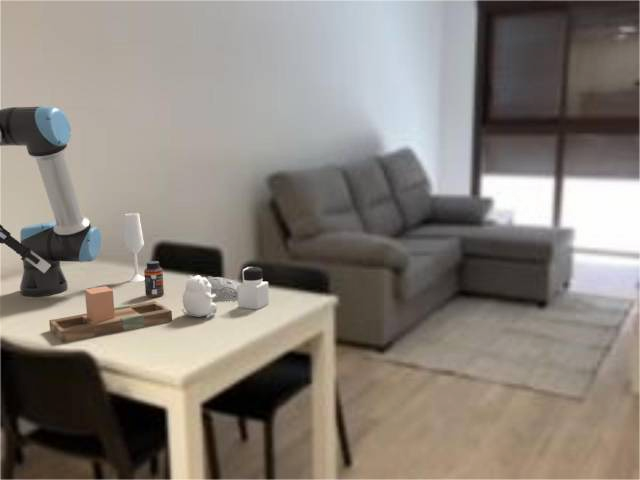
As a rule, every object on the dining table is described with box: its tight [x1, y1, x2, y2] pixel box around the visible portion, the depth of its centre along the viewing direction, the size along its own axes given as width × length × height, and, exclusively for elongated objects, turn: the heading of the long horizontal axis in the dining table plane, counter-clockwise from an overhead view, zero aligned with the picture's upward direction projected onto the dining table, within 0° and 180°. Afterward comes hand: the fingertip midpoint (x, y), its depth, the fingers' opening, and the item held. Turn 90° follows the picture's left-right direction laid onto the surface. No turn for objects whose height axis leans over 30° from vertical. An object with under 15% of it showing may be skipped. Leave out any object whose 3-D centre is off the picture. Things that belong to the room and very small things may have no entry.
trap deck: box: [49, 300, 173, 344], centre depth 197 cm, size 13×31×3 cm, turn 125°
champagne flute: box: [124, 212, 145, 283], centre depth 248 cm, size 7×7×24 cm
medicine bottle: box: [237, 266, 270, 310], centre depth 214 cm, size 7×7×12 cm
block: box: [84, 285, 115, 322], centre depth 194 cm, size 6×6×8 cm
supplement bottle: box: [143, 260, 165, 298], centre depth 228 cm, size 6×6×11 cm
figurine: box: [181, 274, 218, 318], centre depth 204 cm, size 10×10×12 cm
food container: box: [206, 276, 240, 303], centre depth 229 cm, size 16×25×7 cm, turn 45°
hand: (47, 268), depth 185 cm, fingers closed
